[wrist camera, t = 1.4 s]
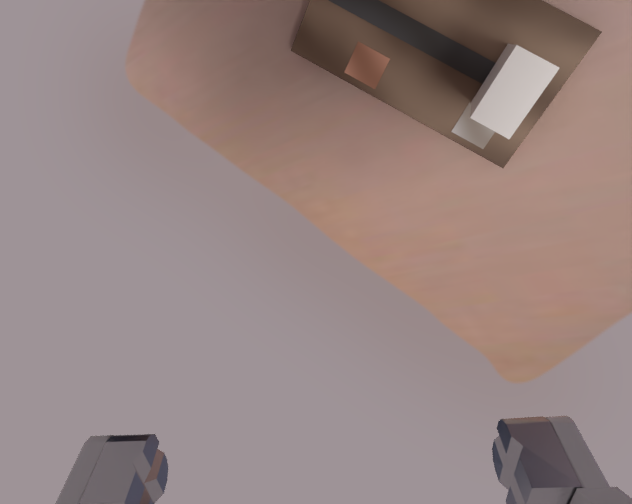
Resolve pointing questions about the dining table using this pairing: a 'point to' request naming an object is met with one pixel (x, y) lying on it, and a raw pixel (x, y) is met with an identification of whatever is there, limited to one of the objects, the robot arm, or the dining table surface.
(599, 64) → the dining table surface
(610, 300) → the dining table surface
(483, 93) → the switch tab
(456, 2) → the switch board
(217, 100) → the dining table surface
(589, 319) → the dining table surface
